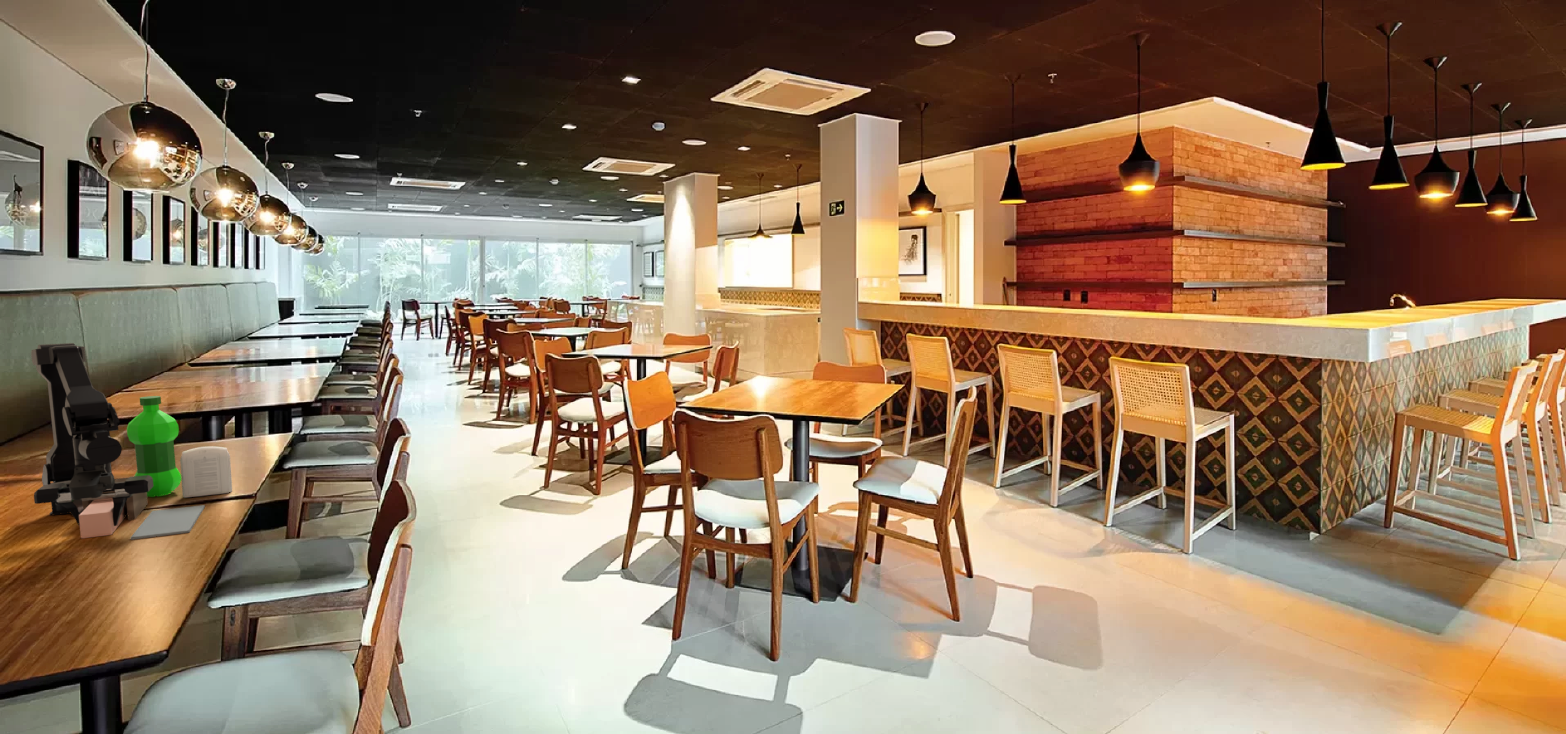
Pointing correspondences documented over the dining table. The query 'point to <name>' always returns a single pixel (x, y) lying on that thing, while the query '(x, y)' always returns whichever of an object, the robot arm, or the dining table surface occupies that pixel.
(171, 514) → the slate mat
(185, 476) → the white arched slab
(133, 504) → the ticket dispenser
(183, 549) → the dining table surface
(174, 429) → the plastic bottle
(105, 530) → the block
